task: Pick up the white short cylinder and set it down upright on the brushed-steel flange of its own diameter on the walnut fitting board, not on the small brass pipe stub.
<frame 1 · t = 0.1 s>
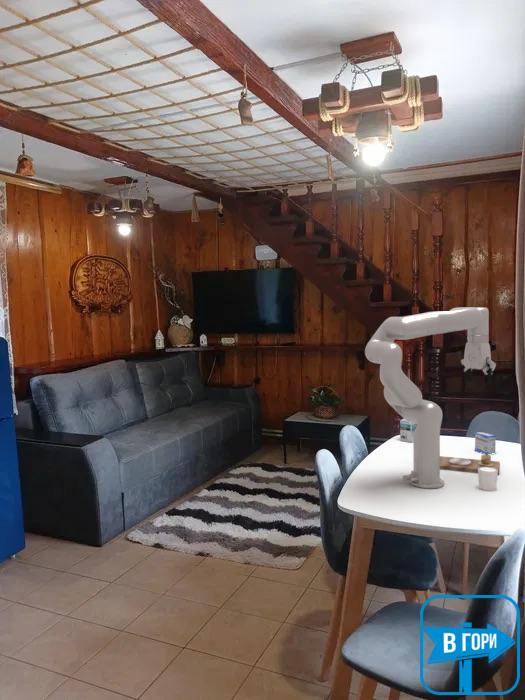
hand: (477, 383, 204), 37 cm above the table, tool pointing down, fingers open, 9 cm apart
white short cylinder: (487, 488, 193), on the table
medicine box: (485, 452, 239), on the table
fitting board: (467, 466, 218), on the table
light bulb box: (410, 440, 264), on the table
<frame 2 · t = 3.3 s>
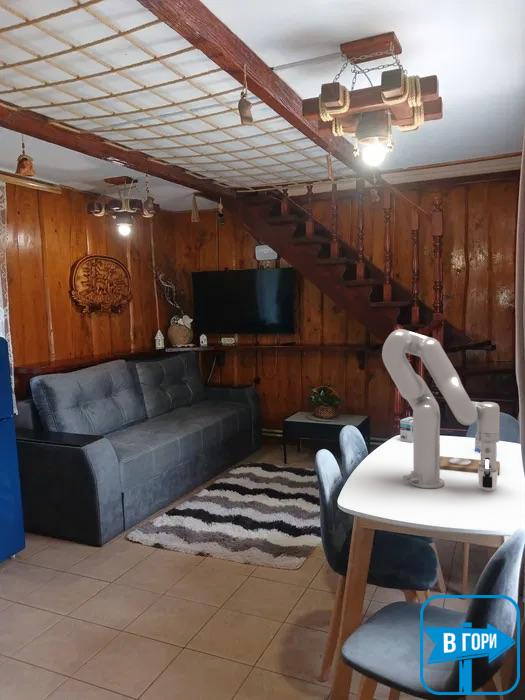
hand: (487, 483, 193), 2 cm above the table, tool pointing down, fingers closed on white short cylinder, 6 cm apart
white short cylinder: (487, 488, 193), on the table, touching gripper
everything else where it was.
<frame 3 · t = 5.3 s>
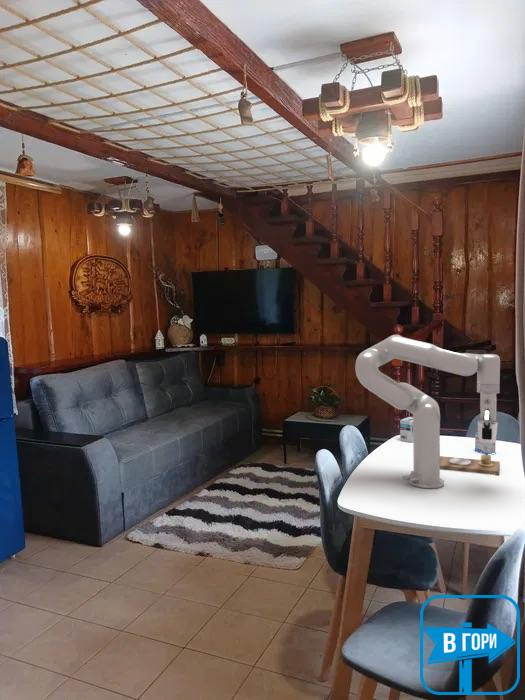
hand: (487, 436, 191), 19 cm above the table, tool pointing down, fingers closed on white short cylinder, 6 cm apart
white short cylinder: (487, 441, 191), point 17 cm above the table, touching gripper
everything else where it was.
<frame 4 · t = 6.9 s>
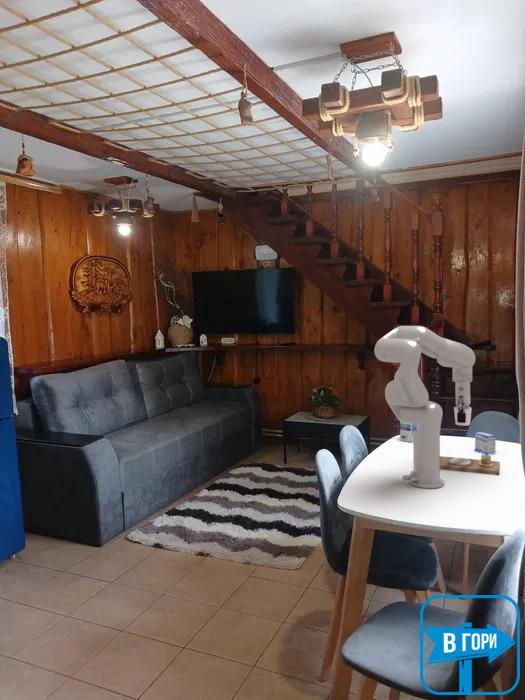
hand: (462, 420, 216), 20 cm above the table, tool pointing down, fingers closed on white short cylinder, 6 cm apart
white short cylinder: (462, 424, 216), point 18 cm above the table, touching gripper
everything else where it was.
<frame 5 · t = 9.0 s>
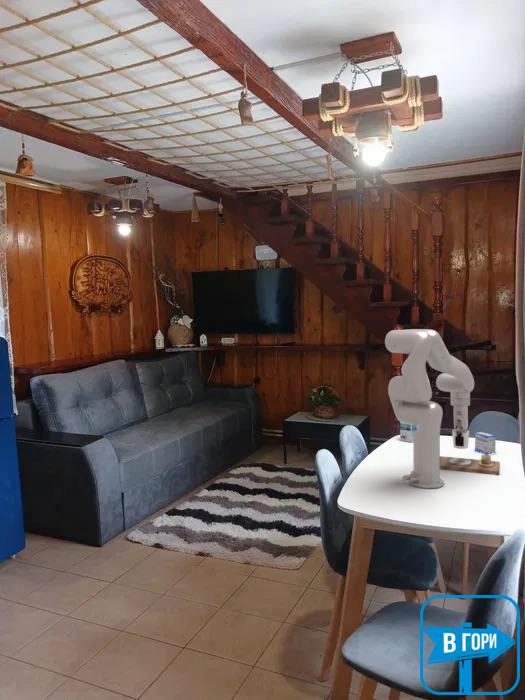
hand: (460, 443, 219), 10 cm above the table, tool pointing down, fingers closed on white short cylinder, 6 cm apart
white short cylinder: (460, 447, 219), point 8 cm above the table, touching gripper
everything else where it was.
when the fingers open (5 cm above the table, at t = 10.8 s): white short cylinder drops 1 cm, resting on fitting board.
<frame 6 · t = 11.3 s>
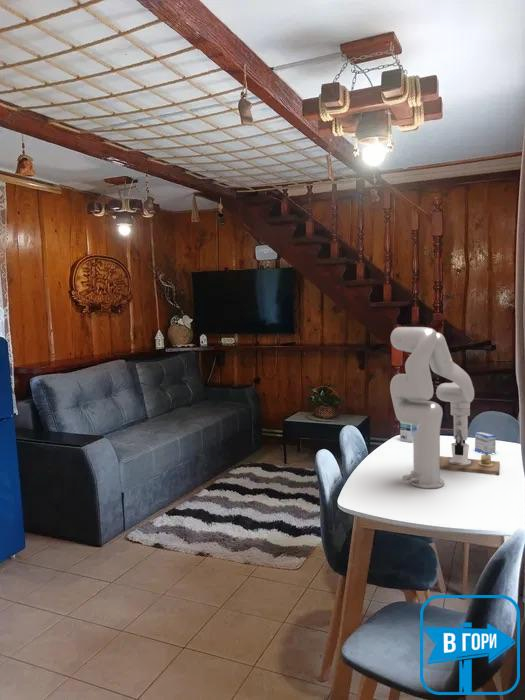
hand: (460, 451, 219), 6 cm above the table, tool pointing down, fingers open, 9 cm apart
white short cylinder: (460, 461, 219), point 2 cm above the table, touching fitting board
everything else where it was.
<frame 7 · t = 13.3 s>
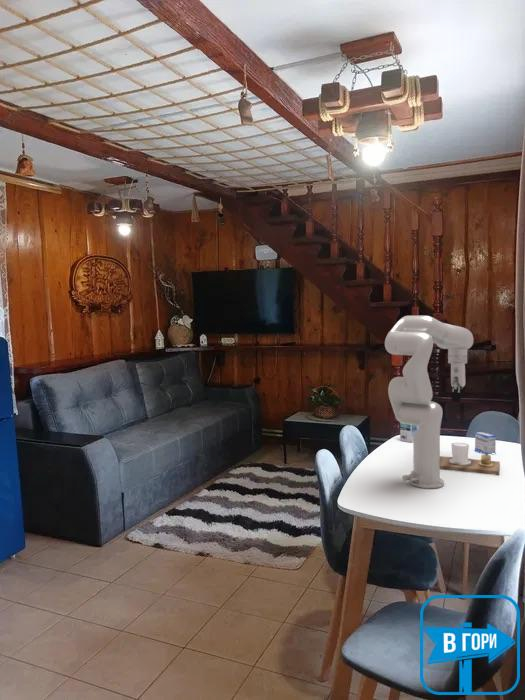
hand: (457, 399, 222), 27 cm above the table, tool pointing down, fingers open, 9 cm apart
nothing on the table moved.
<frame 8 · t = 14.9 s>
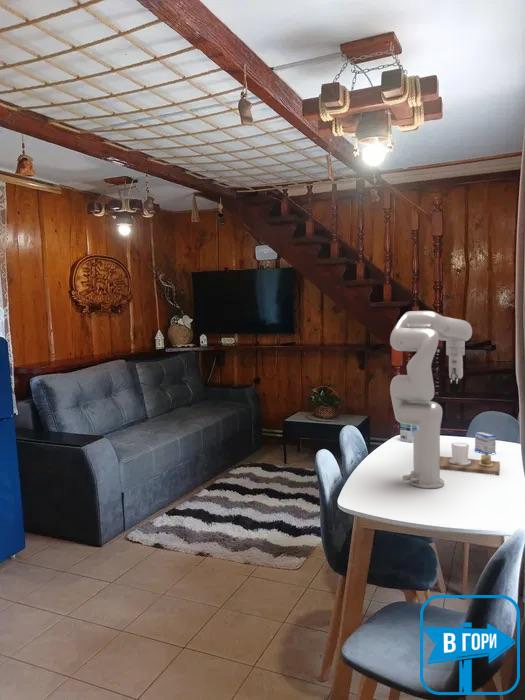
hand: (455, 391, 226), 30 cm above the table, tool pointing down, fingers open, 9 cm apart
nothing on the table moved.
at the end: white short cylinder 0.3 cm from the target spot on the fitting board, point 2.1 cm above the fitting board's base; white short cylinder tilted 0°; the gripper is holding nothing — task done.
